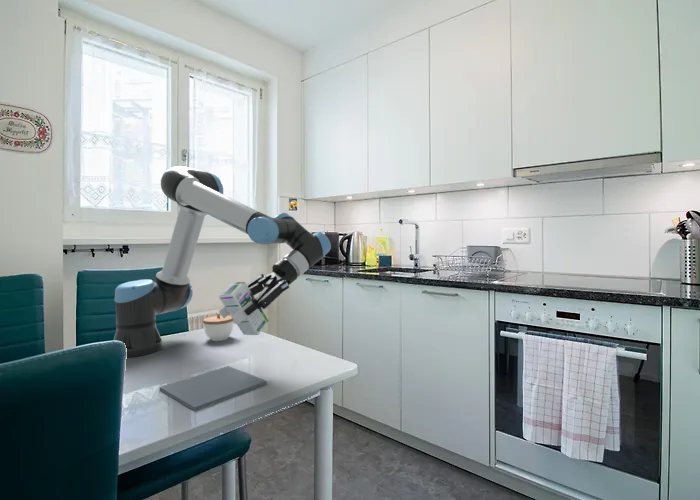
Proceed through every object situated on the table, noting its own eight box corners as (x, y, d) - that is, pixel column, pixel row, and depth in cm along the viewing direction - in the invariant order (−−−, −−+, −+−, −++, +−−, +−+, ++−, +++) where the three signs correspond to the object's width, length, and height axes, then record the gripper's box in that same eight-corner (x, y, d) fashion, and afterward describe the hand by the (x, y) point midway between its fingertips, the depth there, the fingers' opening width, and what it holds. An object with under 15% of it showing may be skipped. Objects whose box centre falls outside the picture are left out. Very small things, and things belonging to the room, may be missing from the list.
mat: (159, 390, 93) (159, 386, 93) (228, 368, 107) (228, 365, 107) (194, 411, 81) (194, 407, 81) (266, 383, 95) (266, 380, 95)
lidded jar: (240, 336, 142) (239, 312, 142) (219, 344, 133) (218, 317, 132) (219, 334, 147) (218, 310, 147) (197, 341, 137) (196, 315, 137)
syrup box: (258, 335, 103) (233, 294, 97) (242, 335, 106) (217, 295, 100) (269, 321, 107) (245, 281, 101) (254, 321, 110) (230, 282, 104)
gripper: (315, 283, 107) (252, 337, 95) (277, 273, 122) (218, 319, 109) (304, 261, 104) (238, 314, 92) (267, 254, 118) (205, 299, 106)
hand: (227, 317), depth 100 cm, fingers closed on syrup box, 7 cm apart
